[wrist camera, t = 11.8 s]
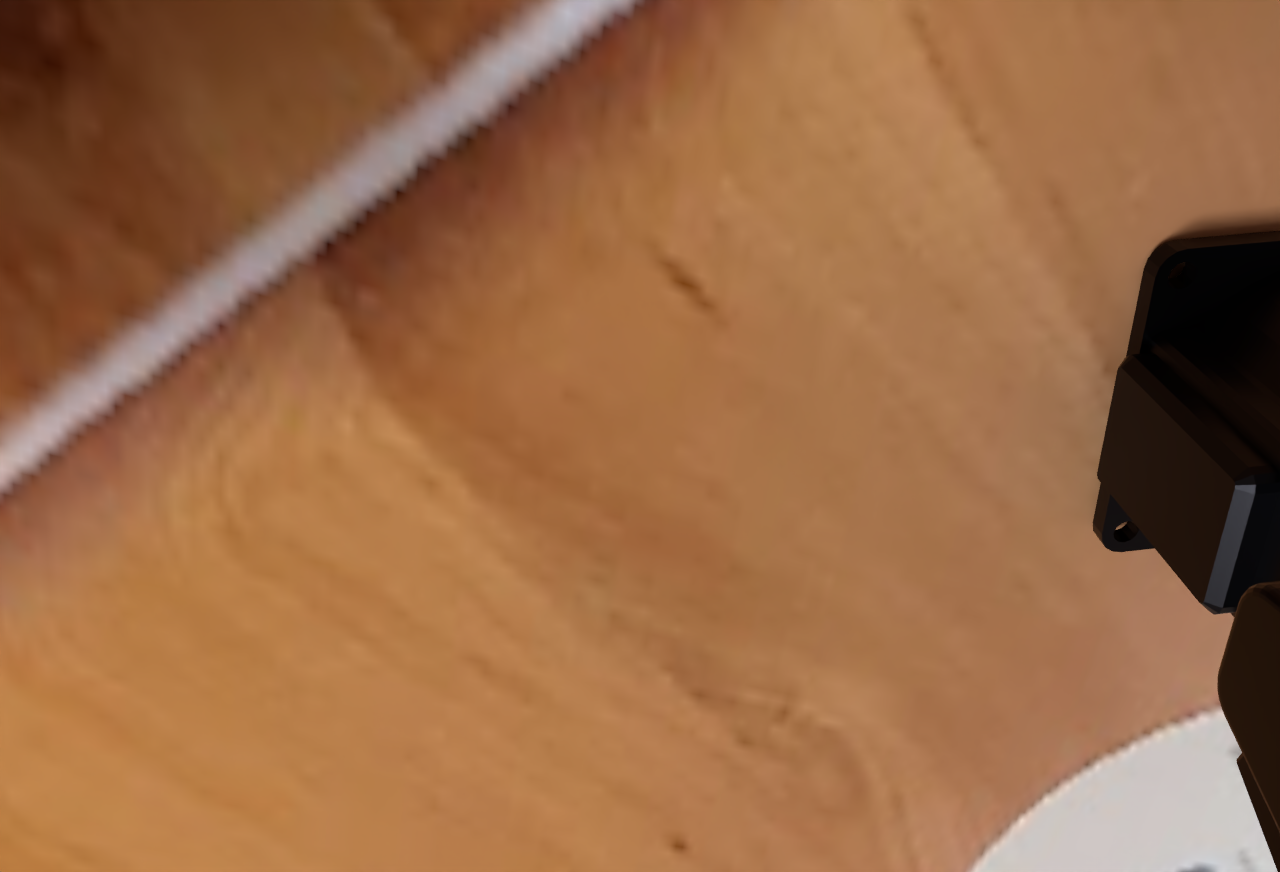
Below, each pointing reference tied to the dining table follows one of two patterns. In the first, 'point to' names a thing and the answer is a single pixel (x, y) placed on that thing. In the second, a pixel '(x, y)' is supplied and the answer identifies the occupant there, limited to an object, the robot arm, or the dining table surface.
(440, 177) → the dining table surface
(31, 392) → the dining table surface
